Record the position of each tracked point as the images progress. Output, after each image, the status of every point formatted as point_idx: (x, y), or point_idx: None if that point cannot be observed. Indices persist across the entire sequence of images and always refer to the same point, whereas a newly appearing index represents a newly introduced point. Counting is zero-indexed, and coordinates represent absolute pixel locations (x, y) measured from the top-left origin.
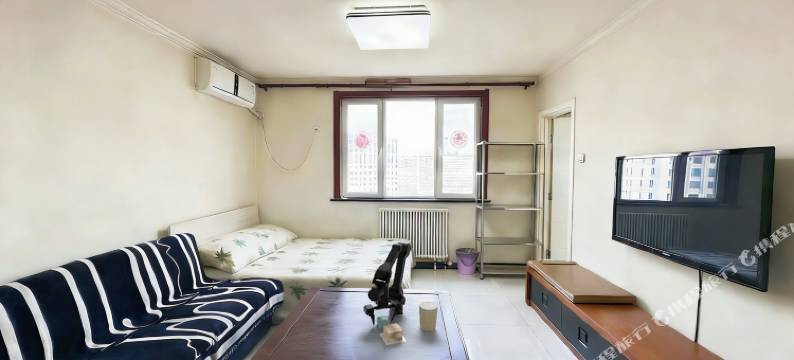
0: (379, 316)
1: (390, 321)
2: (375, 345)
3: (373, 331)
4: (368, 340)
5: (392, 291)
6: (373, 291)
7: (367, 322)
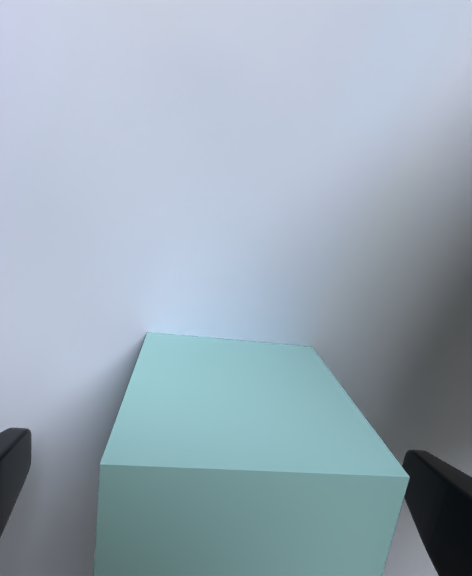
0: (192, 488)
1: (411, 463)
2: None
3: None
4: None
5: None
6: None
7: (8, 104)
